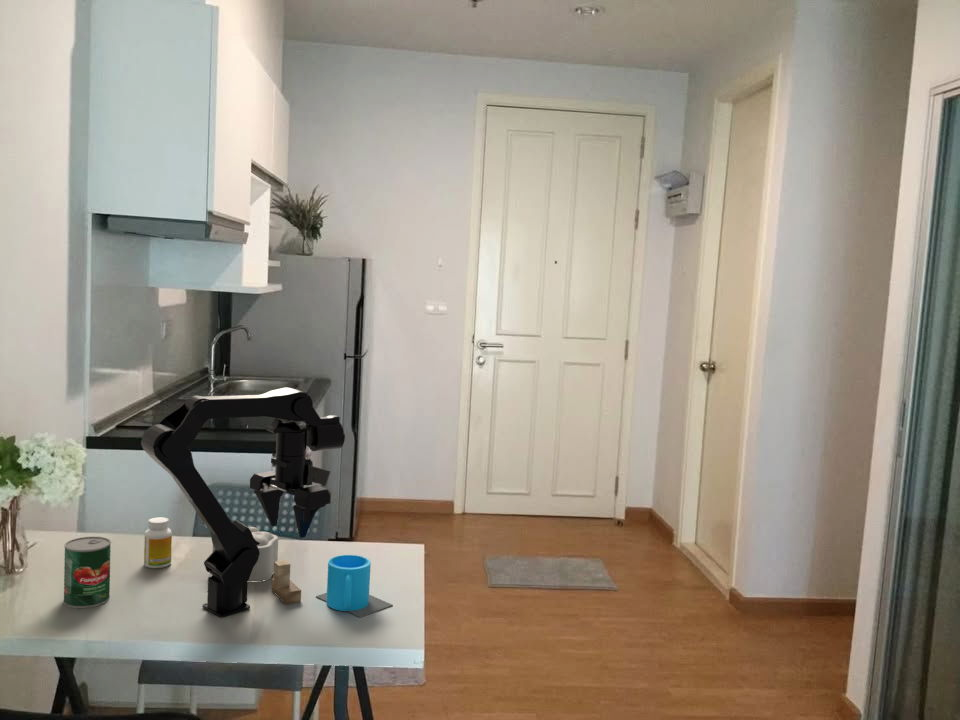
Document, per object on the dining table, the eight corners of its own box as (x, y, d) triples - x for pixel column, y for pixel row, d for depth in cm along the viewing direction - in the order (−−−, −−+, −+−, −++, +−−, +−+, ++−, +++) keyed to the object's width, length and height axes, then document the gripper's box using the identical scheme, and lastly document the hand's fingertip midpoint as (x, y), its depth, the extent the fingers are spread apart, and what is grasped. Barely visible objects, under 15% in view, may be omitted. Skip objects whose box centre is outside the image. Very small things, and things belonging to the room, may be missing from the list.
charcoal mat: (359, 617, 158) (359, 616, 158) (315, 597, 166) (316, 596, 166) (392, 605, 164) (392, 604, 164) (349, 586, 172) (349, 585, 172)
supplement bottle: (176, 564, 179) (177, 519, 178) (154, 570, 174) (155, 525, 173) (160, 558, 182) (161, 514, 181) (138, 564, 177) (139, 519, 176)
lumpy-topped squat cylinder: (265, 583, 171) (267, 542, 170) (203, 578, 172) (204, 537, 171) (280, 566, 182) (282, 527, 181) (221, 561, 182) (223, 522, 181)
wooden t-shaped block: (282, 605, 161) (283, 570, 160) (268, 591, 168) (269, 557, 167) (300, 602, 163) (302, 567, 163) (285, 588, 170) (287, 554, 169)
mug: (327, 594, 167) (329, 554, 166) (368, 594, 168) (370, 555, 168) (324, 619, 155) (326, 576, 155) (368, 619, 157) (370, 577, 156)
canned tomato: (88, 611, 153) (89, 552, 152) (53, 603, 155) (54, 546, 154) (119, 596, 161) (120, 540, 159) (85, 589, 163) (86, 534, 162)
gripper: (354, 457, 163) (350, 535, 165) (295, 440, 175) (292, 513, 177) (308, 464, 155) (305, 547, 156) (249, 446, 167) (246, 523, 168)
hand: (288, 531), depth 164 cm, fingers open, 9 cm apart
